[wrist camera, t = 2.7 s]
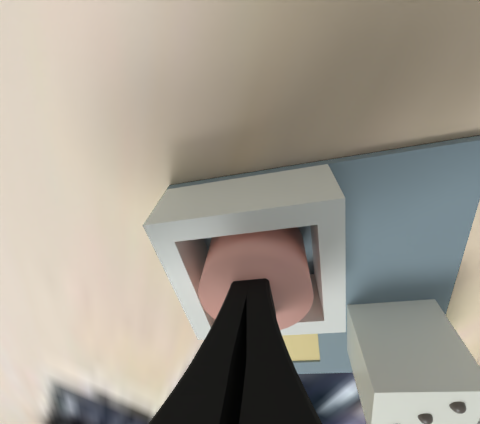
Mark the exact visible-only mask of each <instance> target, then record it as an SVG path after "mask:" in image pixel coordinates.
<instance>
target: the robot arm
mask: <svg viewBox="0 0 480 424" xmlns="http://www.w3.org/2000/svg"><path fill="white" fill-rule="evenodd" d="M149 424H322V423H321V421H320V419H319V417H318V415H317V413H316V411H315V409H314V407H313V405H312V403H311V401H310V399H309V397H308V395H307V393H306V391H305V389H304V387H303V384H302V382H301V380H300V378H299V376H298V374H297V371H296V369H295V367H294V364H293V362H292V360H291V357H290V355H289V352H288V350H287V347H286V345H285V342H284V340H283V337H282V334H281V331H280V328H279V325H278V322H277V319H276V311H275V306H274V301H273V297H272V292H271V287H270V282H269V280H268V279H266V278H263V279H252V280H241V281H233V282H232V283H231V286H230V288H229V291H228V293H227V295H226V298H225V300H224V302H223V304H222V307H221V309H220V311H219V313H218V315H217V317H216V319H215V321H214V323H213V325H212V327H211V329H210V331H209V333H208V334H207V336H206V338H205V340H204V342H203V343H202V345H201V347H200V349H199V350H198V352H197V354H196V356H195V357H194V359H193V361H192V362H191V364H190V365H189V367H188V369H187V370H186V372H185V373H184V375H183V376H182V378H181V379H180V381H179V382H178V384H177V385H176V387H175V388H174V390H173V391H172V393H171V394H170V395H169V397H168V398H167V399H166V401H165V402H164V404H163V405H162V406H161V408H160V409H159V411H158V412H157V413H156V415H155V416H154V417H153V419H152V420H151V421H150V422H149Z"/></svg>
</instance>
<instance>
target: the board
mask: <svg viewBox="0 0 480 424" xmlns="http://www.w3.org/2000/svg"><path fill="white" fill-rule="evenodd" d="M324 164H328V165H329V167H330V169H331V171H332V173H333V175H334V177H335V179H336V181H337V183H338V185H339V187H340V189H341V191H342V192H343V194H344V196H345V240H346V332H340V333H321V334H301V335H282V337H283V340H284V342H285V345H286V347H287V350H288V352H289V355H290V357H291V360H292V362H293V364H294V367H295V369H296V371H297V374H311V373H350V372H353V371H352V367H351V363H350V359H349V356H348V352H347V305H355V304H369V303H384V302H399V301H413V300H428V299H435V300H436V302H437V303H438V305H439V306H440V308H441V309H442V311H443V312H444V314H445V315H446V311H447V308H448V305H449V301H450V298H451V294H452V291H453V288H454V284H455V281H456V277H457V274H458V271H459V267H460V264H461V261H462V257H463V254H464V250H465V247H466V244H467V240H468V237H469V233H470V230H471V227H472V223H473V220H474V217H475V213H476V210H477V206H478V203H479V200H480V136H474V137H467V138H461V139H455V140H449V141H442V142H436V143H430V144H424V145H418V146H411V147H405V148H399V149H393V150H386V151H380V152H374V153H368V154H362V155H355V156H349V157H343V158H337V159H330V160H324V161H318V162H312V163H306V164H299V165H293V166H287V167H281V168H274V169H268V170H262V171H256V172H250V173H243V174H237V175H231V176H225V177H218V178H212V179H206V180H200V181H194V182H187V183H181V184H175V185H169V187H168V188H167V189H172V188H179V187H185V186H191V185H198V184H204V183H210V182H217V181H223V180H229V179H236V178H242V177H248V176H255V175H261V174H267V173H274V172H280V171H286V170H293V169H299V168H305V167H312V166H318V165H324ZM298 229H299V230H300V232H301V234H302V237H303V242H304V247H305V252H306V257H307V262H308V268H309V273H310V275H311V274H314V264H313V253H312V241H311V230H310V226H303V227H298ZM211 239H212V237H211V238H204V241H205V243H206V246H207V249H208V250H209V246H210V242H211Z"/></svg>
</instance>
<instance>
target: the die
mask: <svg viewBox="0 0 480 424" xmlns="http://www.w3.org/2000/svg"><path fill="white" fill-rule="evenodd" d="M347 352H348V356H349V359H350V363H351V367H352V371H353V374H354V378H355V382H356V386H357V389H358V393H359V397H360V401H361V404H362V408H363V412H364V416H365V419H366V423H367V424H477V423H478V421H479V419H480V367H479V365H478V364H477V362H476V361H475V359H474V358H473V356H472V354H471V353H470V351H469V350H468V348H467V347H466V345H465V344H464V342H463V341H462V339H461V338H460V336H459V335H458V333H457V332H456V330H455V329H454V327H453V326H452V324H451V323H450V321H449V320H448V318H447V317H446V315H445V314H444V312H443V311H442V309H441V308H440V306H439V305H438V303H437V302H436V300H435V299H428V300H413V301H399V302H384V303H369V304H355V305H347Z"/></svg>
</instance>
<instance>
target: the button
mask: <svg viewBox="0 0 480 424" xmlns="http://www.w3.org/2000/svg"><path fill="white" fill-rule="evenodd" d="M263 278H266V279H268V280H269V282H270V287H271V292H272V297H273V301H274V306H275V311H276V319H277V322H278V325H279V328H280V330H282V329H285V328H288V327H290V326H292V325H294V324H296V323H297V322H299V321H300V320H301V319H303V318H304V317H305V316H306V314H307V313H308V312H309V310H310V309H311V306H312V304H313V296H314V293H313V288H312V283H311V278H310V273H309V268H308V262H307V257H306V252H305V247H304V242H303V237H302V234H301V232H300V230H299V229H298V227H294V228H286V229H278V230H270V231H261V232H253V233H245V234H236V235H228V236H220V237H212V239H211V242H210V246H209V250H208V253H207V257H206V261H205V264H204V268H203V272H202V275H201V279H200V283H199V287H198V295H199V300H200V302H201V304H202V306H203V308H204V309H205V311H206V312H207V313H208V314H209V315H210V316H211V317H212V318H214V319H216V317H217V315H218V313H219V311H220V309H221V307H222V304H223V302H224V300H225V298H226V295H227V293H228V291H229V288H230V286H231V283H232V282H233V281H241V280H252V279H263Z"/></svg>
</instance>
